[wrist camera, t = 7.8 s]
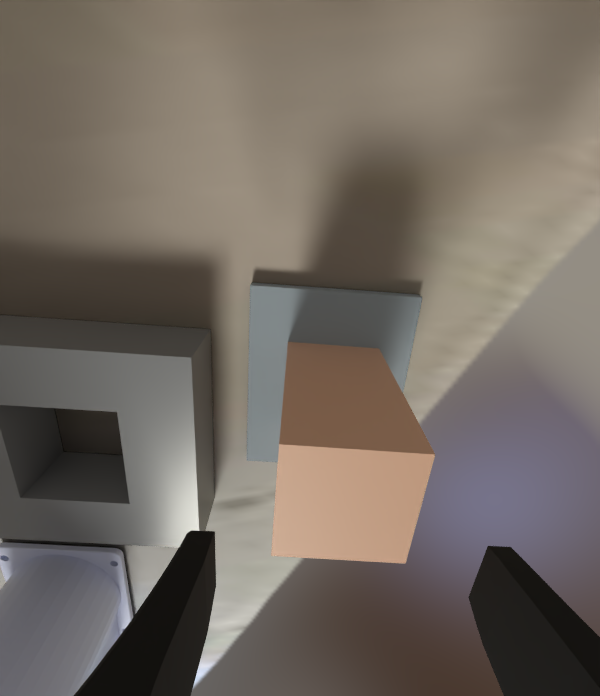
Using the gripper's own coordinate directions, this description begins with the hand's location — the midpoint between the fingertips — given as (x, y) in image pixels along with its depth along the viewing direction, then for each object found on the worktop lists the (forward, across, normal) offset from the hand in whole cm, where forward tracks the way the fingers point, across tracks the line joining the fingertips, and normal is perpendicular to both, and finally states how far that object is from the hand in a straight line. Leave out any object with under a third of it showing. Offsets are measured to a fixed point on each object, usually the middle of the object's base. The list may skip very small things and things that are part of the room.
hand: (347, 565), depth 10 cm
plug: (+10, 0, 0) cm, 10 cm away
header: (+10, +14, +3) cm, 18 cm away
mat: (+10, 0, 0) cm, 10 cm away
